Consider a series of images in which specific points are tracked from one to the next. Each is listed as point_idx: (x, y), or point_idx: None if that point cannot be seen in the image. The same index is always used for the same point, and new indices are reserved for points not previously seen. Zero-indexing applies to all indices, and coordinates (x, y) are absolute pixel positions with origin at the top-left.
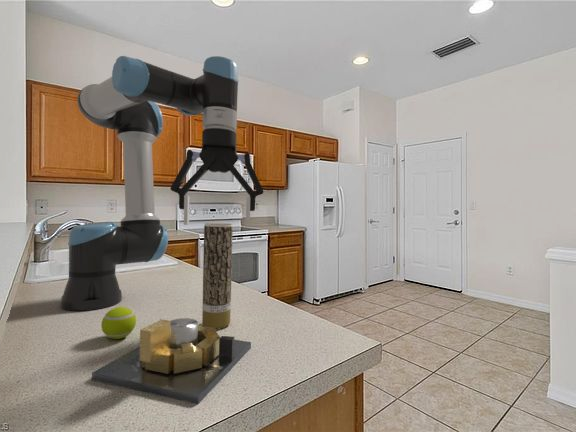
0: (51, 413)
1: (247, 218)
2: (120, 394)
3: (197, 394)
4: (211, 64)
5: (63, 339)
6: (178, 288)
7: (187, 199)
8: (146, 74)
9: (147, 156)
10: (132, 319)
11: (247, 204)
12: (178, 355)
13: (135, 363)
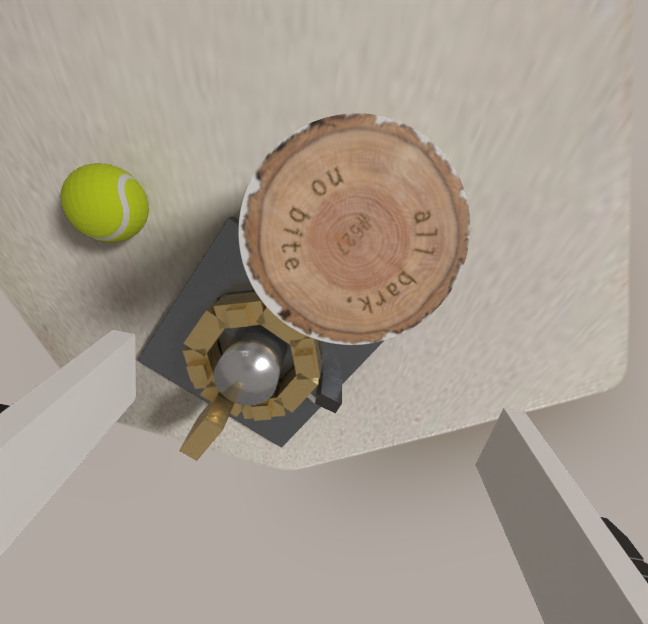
0: (129, 408)
1: (499, 503)
2: (191, 397)
3: (280, 445)
4: None
5: (12, 173)
6: None
7: (2, 551)
8: None
9: None
10: (135, 225)
11: (546, 613)
12: (250, 418)
13: None
